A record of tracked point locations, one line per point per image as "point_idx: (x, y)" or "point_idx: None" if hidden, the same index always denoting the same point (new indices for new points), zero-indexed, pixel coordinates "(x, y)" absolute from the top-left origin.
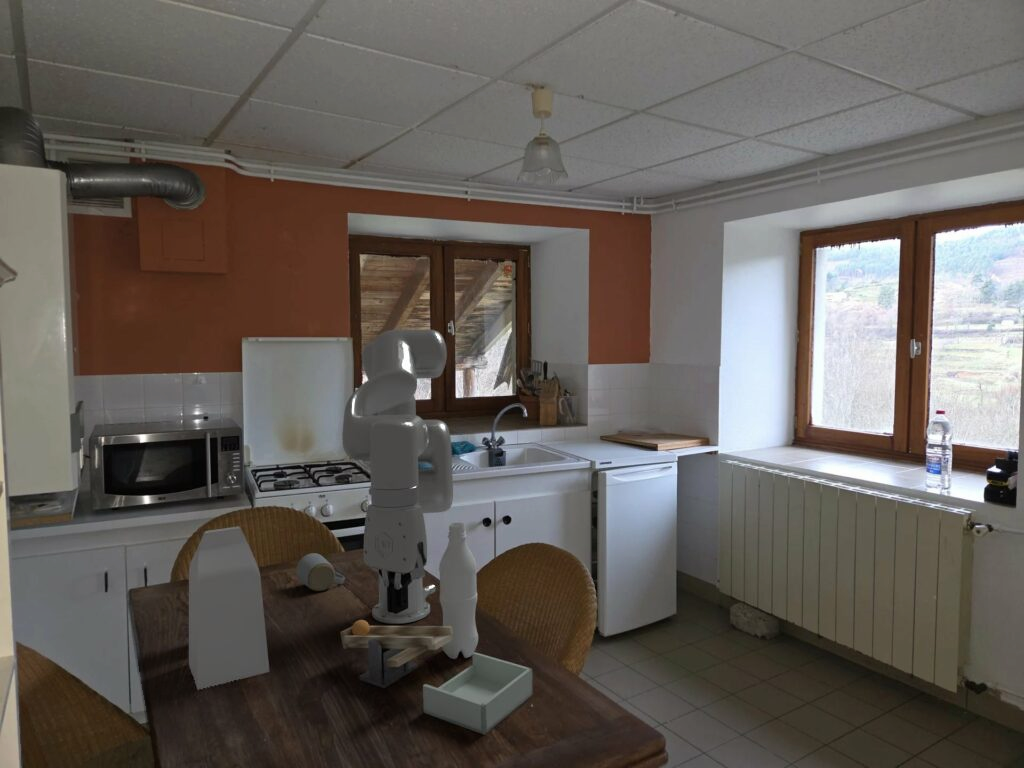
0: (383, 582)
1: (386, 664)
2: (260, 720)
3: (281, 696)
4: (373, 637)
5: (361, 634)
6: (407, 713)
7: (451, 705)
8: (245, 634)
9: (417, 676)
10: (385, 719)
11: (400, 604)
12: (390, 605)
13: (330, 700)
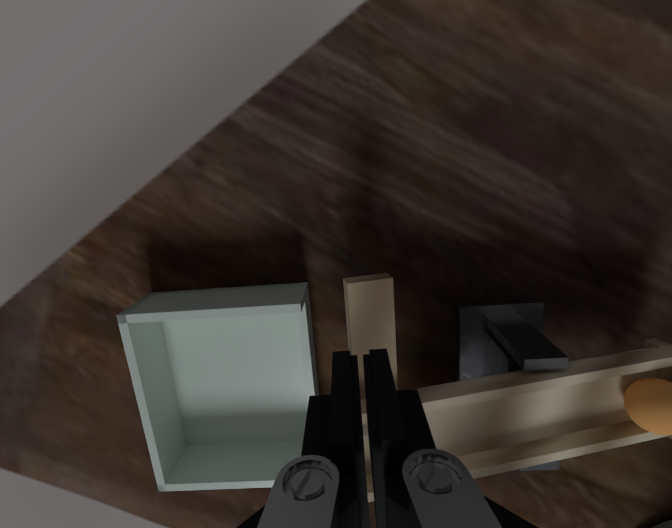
0: (465, 473)
1: (494, 352)
2: (618, 22)
3: (659, 132)
4: (564, 376)
5: (634, 387)
6: (334, 260)
7: (220, 300)
8: None
9: (430, 380)
10: (356, 215)
11: (316, 401)
12: (369, 370)
13: (529, 195)
